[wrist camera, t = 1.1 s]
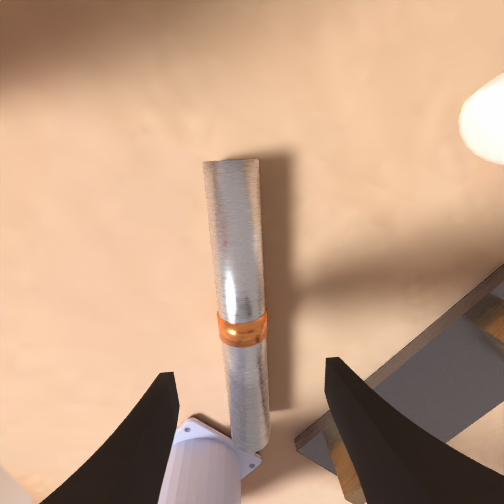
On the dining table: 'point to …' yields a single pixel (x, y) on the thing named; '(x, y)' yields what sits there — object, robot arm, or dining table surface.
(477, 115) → the unicorn horn
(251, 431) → the tube
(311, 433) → the grey tube holder
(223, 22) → the dining table surface
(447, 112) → the dining table surface
